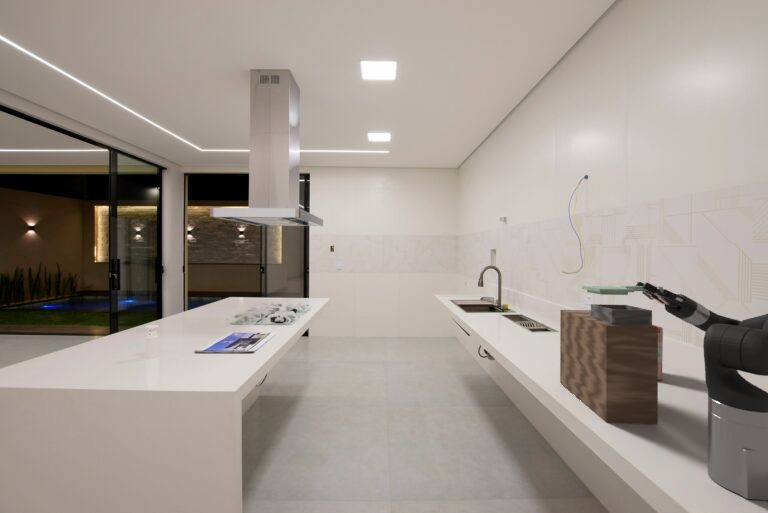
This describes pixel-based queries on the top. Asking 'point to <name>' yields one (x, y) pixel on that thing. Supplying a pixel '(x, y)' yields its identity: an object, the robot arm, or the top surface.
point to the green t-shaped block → (614, 289)
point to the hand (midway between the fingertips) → (641, 284)
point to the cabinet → (611, 361)
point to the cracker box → (660, 351)
